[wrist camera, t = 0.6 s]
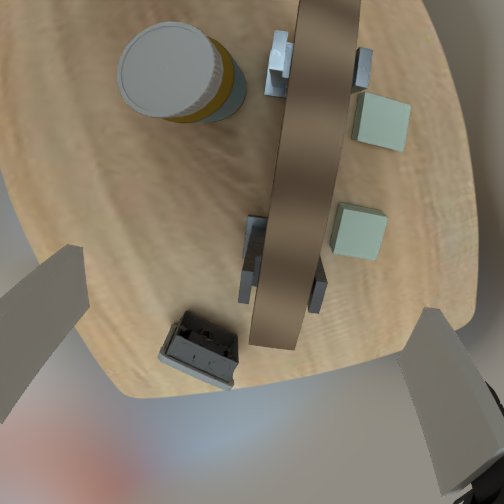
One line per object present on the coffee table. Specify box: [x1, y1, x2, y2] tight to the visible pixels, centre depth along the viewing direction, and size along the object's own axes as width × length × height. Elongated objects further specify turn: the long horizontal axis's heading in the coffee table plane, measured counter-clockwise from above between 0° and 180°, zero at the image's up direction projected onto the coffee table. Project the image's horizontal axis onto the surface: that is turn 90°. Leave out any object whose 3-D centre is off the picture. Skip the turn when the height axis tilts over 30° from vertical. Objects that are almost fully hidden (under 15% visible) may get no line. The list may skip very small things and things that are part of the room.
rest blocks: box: [330, 92, 411, 260], centre depth 30 cm, size 17×5×2 cm, turn 173°
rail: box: [249, 0, 361, 350], centre depth 22 cm, size 28×4×4 cm, turn 173°
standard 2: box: [264, 30, 373, 98], centre depth 22 cm, size 5×8×11 cm, turn 83°
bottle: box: [117, 22, 246, 123], centre depth 22 cm, size 7×7×15 cm
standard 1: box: [238, 215, 328, 314], centre depth 30 cm, size 5×8×11 cm, turn 83°
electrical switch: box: [158, 311, 239, 391], centre depth 37 cm, size 9×5×9 cm, turn 62°
